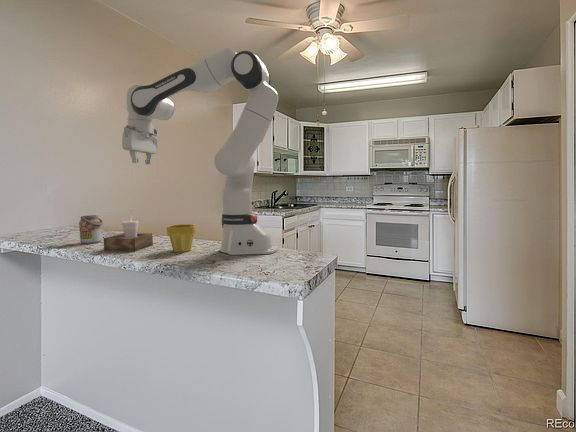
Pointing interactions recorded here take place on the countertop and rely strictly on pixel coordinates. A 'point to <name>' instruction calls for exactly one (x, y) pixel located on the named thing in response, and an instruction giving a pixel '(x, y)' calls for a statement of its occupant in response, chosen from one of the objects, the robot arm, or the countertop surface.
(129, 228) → the smoothie
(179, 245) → the plant pot
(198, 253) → the countertop surface
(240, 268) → the countertop surface
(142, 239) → the box
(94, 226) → the decorated jar
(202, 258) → the countertop surface
